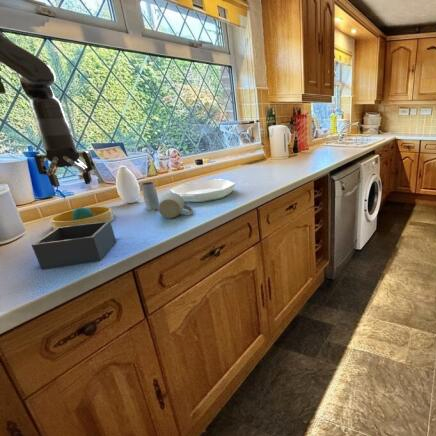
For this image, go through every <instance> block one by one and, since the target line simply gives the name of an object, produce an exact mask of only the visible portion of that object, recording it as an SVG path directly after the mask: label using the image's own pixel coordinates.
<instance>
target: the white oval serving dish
mask: <svg viewBox="0 0 436 436" xmlns="http://www.w3.org/2000/svg"><path fill="white" fill-rule="evenodd" d="M235 187H236V183H235V182H233V181H230V180H228V179H223V178H215V179H205V180H199V181H193V182H186V183H183V184H179V185H176V186H174V187H172V188H169V189H168V190H169V191H170V192H169V193H176V194H178V195H180V196H181V197H182V198H183V200H184V203H206V202H210V201H211V202H212V201H216V200H220V199H223V198H225V197H227V196H229V195H230V194H232V192H233V191H234V189H235Z"/></svg>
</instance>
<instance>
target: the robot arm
mask: <svg viewBox="0 0 436 436" xmlns="http://www.w3.org/2000/svg"><path fill="white" fill-rule="evenodd" d="M0 64H3V65H5V66H6V67H8V68H9V69H11V70H12V71H14V72H15V73H16V77H17V81H18V82H19V85H20V87H21V89H22V91H23V93H24V95H25V97H26V99H27V100H28V102H29V105H30V109H31V112H32V115H33V116H34V121H35V125H36V130H37V132H38V135H39V137H40V141H41V144H42V146H43V149H44V151H45V154H42V153H39V154H35V155H34V156H33V158H34V161H35V165H36V168H37V172H38V174H39V175H45V176H46V177H48V180H49V183H50V185H51V186H53V187H54V188H58V187H60V186H61V184H60V182H59V178H58V176H57V174H56V172H57V171H58V169H59V168H60V169H61V168H64V167H67V168H71V167H74V168H76V169H78V170H79V171H80V172H81V175H82V177H83V180H84V184H85V185H90V184H92V183H91V182H92V181H93V179H92V175H91V173H90V172H91V171H93V170H95V169H96V165H95V162H94V160H93V158H92V155H91V153H90V151H89V150H85V151H81V152H79V151H78V149H77V146H76V143H75V140H74V138H73V134H72V130H71V128H70V125H69V123H68V120H67V118H66V115H65V112H64V110H63V109H64V108H63V105H62V104H61V102H60V100H59V99H58V98H56V96H55V94H54V91H53V89H52V85H53V84H54V83H55V82H56V74H55V72H54V70H53V69H52V68H51V67H50V66H49V65H48V64H47V63H46V62H45V61H43V60H42V59H41V58H40V57H37V56H36V55H34V54H33V53H31V52H30V51H28V50H26V49H25V48H23V47H21V46H20V45H18V44H16V43H15V42H13V40H11V39H9V38H8V37H7V36H6V35H5V34H3V33H2V32H0ZM79 158H81V159H83V160H84V162H85V164H86V165H85V164H84V163H83V161H81V160H79ZM47 160H48V161H49V162H50V164H49V166H48V167H47V164H46V162H47Z"/></svg>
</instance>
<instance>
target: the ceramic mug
mask: <svg viewBox="0 0 436 436" xmlns="http://www.w3.org/2000/svg"><path fill="white" fill-rule="evenodd" d="M157 211H158V213H159V214H160V215H161V216H162V217H163V218H166V219H174V218H176V217H178V216H179V215H180V214H181V215H185V216H190V215H192V214H193V213H194V208H192V207H191V206H189V205H187V204H185V202H184V200H183V198H182V197H181V196H180V195H178V194H176V193H171V192H167V193H165V194H164V195H163V196H162V197H161V199H160V201H159V206H158V210H157Z"/></svg>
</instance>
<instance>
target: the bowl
mask: <svg viewBox="0 0 436 436" xmlns="http://www.w3.org/2000/svg"><path fill="white" fill-rule="evenodd" d="M86 208H88V209H90V210H91V211H92V213H93V217H90V218H86V219H80V220H73V218H72V213H73V211H74V210H75V209H72V210H68V211H64V212H61V213H58V214H56V215H54V216H52V217H51V218H50V219H49V221H50V223H51V226H52V228H53V229H52V230H55V229H56V228H58V227H65V226H74V225H82V224H90V223H99V222H107V221H110V222H111V223H112V222H113V221H114V214H113V210H112V208H111V207H110V206H105V205H104V206H103V205H102V206H87V207H86Z"/></svg>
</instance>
